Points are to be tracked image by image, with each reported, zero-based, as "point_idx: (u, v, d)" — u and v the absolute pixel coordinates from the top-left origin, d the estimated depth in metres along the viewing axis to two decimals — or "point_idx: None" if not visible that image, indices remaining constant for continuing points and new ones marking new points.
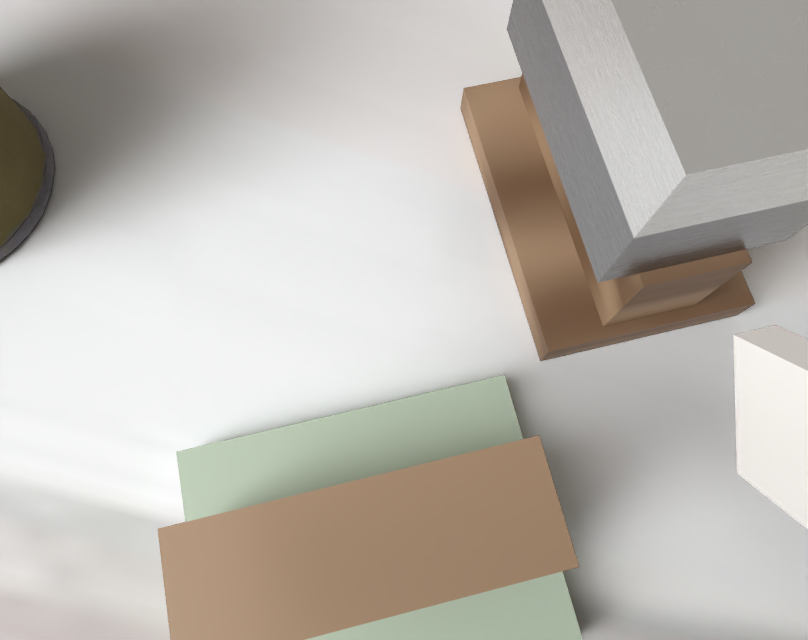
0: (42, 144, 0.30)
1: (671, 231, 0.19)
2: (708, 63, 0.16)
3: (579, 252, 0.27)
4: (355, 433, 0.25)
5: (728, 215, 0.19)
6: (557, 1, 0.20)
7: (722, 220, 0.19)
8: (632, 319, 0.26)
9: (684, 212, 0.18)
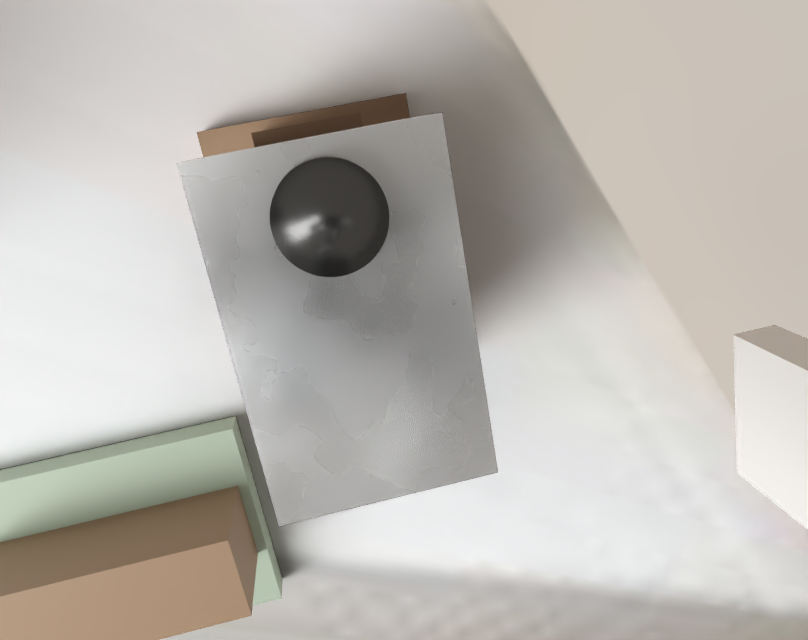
0: None
1: None
2: (314, 428, 0.19)
3: None
4: (105, 476, 0.30)
5: None
6: None
7: None
8: None
9: None
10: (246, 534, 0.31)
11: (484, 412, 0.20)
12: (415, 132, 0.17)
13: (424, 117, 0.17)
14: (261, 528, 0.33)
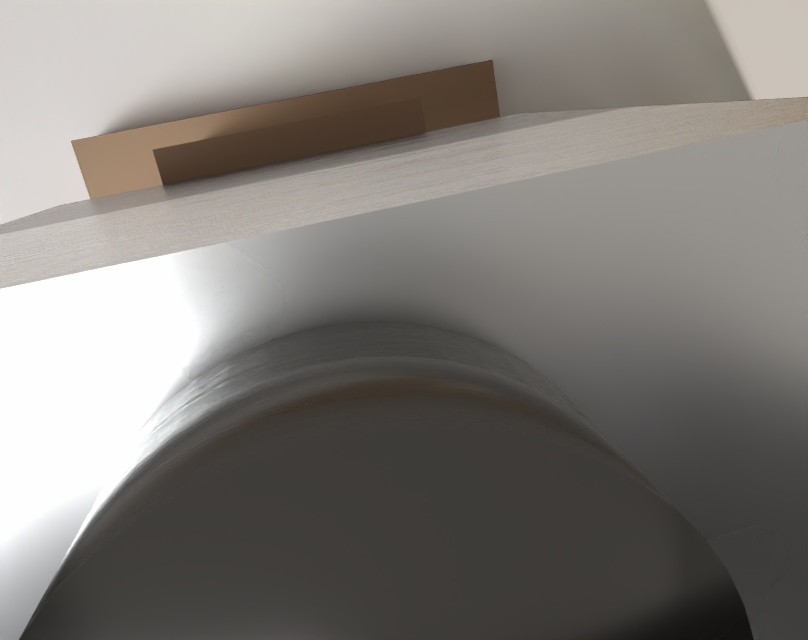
0: None
1: None
2: None
3: None
4: None
5: None
6: None
7: None
8: None
9: None
10: None
11: None
12: None
13: None
14: None
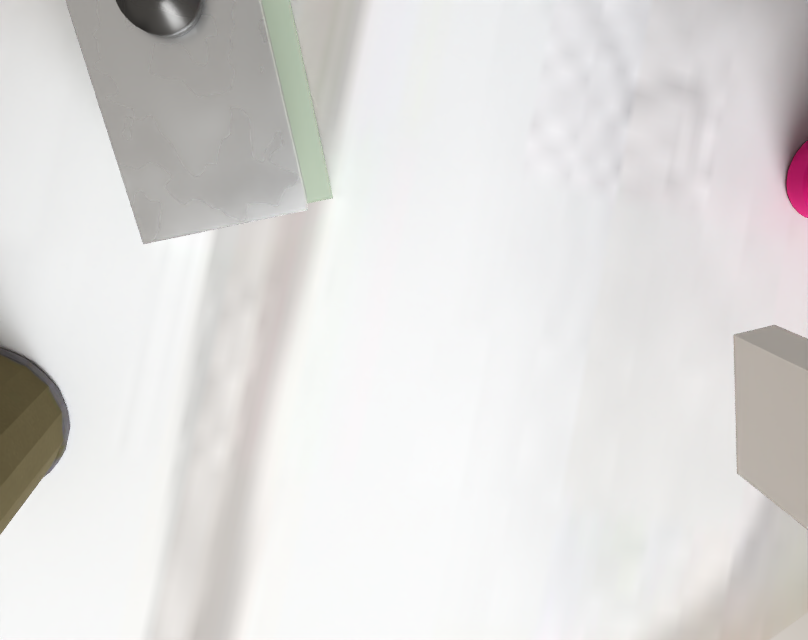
0: None
1: None
2: (164, 165, 0.26)
3: None
4: None
5: None
6: None
7: None
8: None
9: None
10: None
11: (292, 160, 0.27)
12: None
13: None
14: None
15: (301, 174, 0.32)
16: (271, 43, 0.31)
